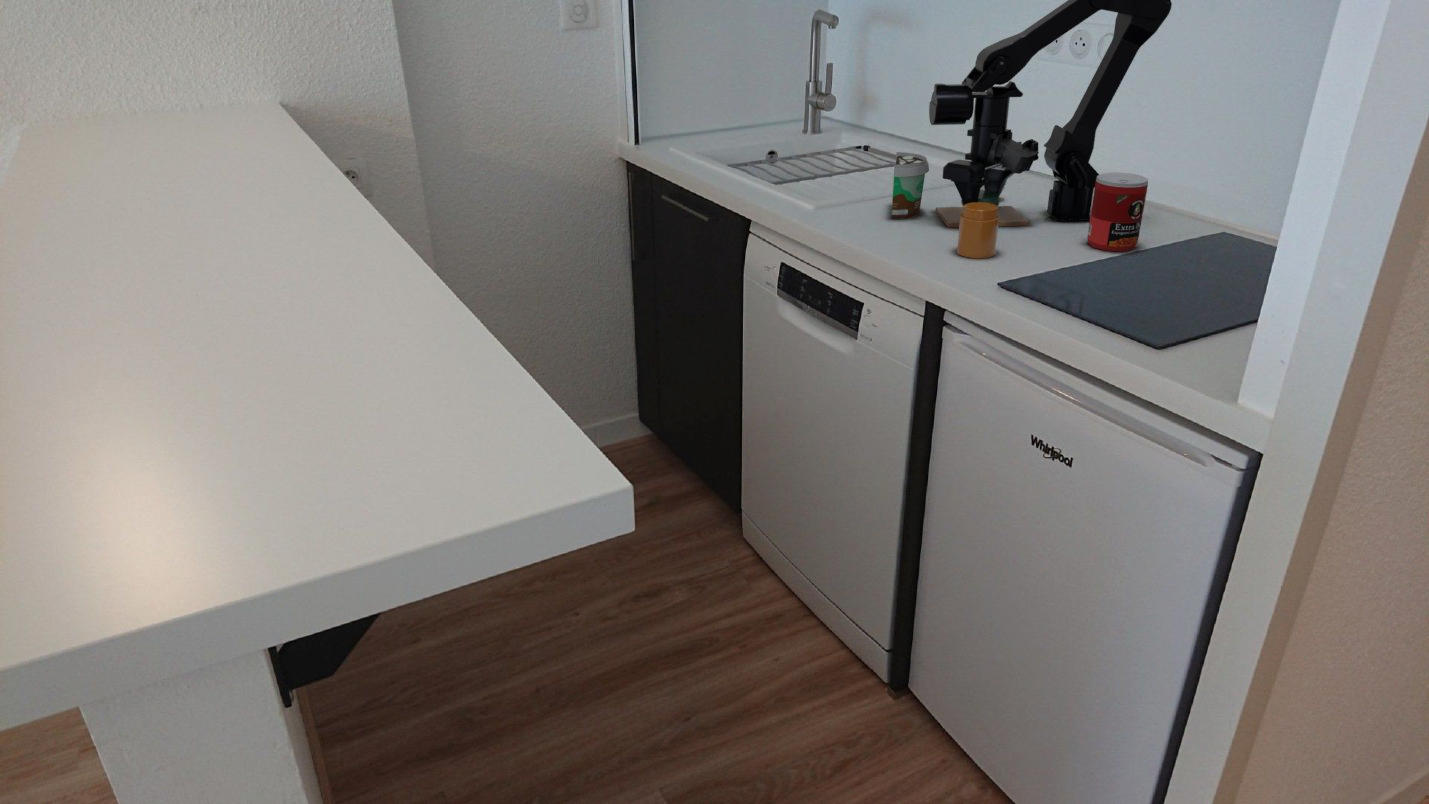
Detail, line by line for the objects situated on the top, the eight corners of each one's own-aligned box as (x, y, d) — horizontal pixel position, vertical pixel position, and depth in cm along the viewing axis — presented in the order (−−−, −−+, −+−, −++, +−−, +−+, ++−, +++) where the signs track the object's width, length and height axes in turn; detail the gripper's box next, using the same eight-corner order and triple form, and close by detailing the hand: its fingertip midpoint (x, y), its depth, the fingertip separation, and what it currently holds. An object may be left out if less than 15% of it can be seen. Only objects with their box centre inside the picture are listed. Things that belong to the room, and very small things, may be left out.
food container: (925, 222, 171) (930, 165, 167) (891, 220, 172) (894, 165, 168) (926, 205, 182) (930, 152, 177) (893, 204, 183) (896, 151, 179)
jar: (990, 247, 156) (995, 201, 153) (999, 257, 151) (1004, 210, 148) (953, 247, 156) (957, 201, 153) (961, 258, 151) (965, 211, 148)
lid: (965, 209, 169) (966, 198, 168) (957, 200, 174) (958, 190, 174) (1002, 208, 168) (1003, 198, 168) (993, 199, 174) (994, 189, 173)
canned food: (1111, 254, 151) (1123, 185, 146) (1075, 241, 158) (1085, 175, 153) (1148, 248, 154) (1160, 179, 149) (1111, 236, 160) (1122, 170, 156)
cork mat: (1010, 210, 177) (1011, 205, 177) (1027, 225, 167) (1028, 221, 167) (935, 211, 177) (935, 207, 177) (948, 227, 167) (948, 222, 167)
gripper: (1003, 136, 154) (993, 231, 161) (1059, 121, 166) (1048, 210, 172) (944, 129, 161) (937, 220, 168) (1002, 115, 173) (993, 200, 180)
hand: (981, 212), depth 172 cm, fingers closed on lid, 6 cm apart
